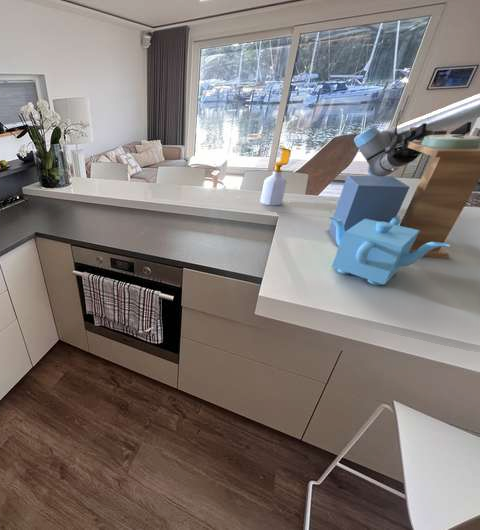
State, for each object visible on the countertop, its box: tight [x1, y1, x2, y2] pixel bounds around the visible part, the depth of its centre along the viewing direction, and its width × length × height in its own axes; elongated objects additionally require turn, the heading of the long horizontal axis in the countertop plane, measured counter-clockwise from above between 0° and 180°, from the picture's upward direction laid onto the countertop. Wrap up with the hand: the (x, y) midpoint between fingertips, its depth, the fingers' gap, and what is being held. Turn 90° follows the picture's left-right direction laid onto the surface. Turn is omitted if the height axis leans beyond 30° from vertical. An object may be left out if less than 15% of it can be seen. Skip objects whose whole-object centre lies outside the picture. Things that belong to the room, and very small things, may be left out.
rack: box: [398, 141, 480, 259], centre depth 85 cm, size 16×14×30 cm
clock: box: [408, 127, 480, 148], centre depth 82 cm, size 22×11×3 cm, turn 167°
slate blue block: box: [328, 175, 411, 247], centre depth 92 cm, size 12×12×20 cm
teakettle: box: [328, 216, 451, 286], centre depth 77 cm, size 19×19×15 cm
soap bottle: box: [259, 146, 291, 207], centre depth 128 cm, size 9×9×25 cm
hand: (446, 127), depth 82 cm, fingers open, 9 cm apart
